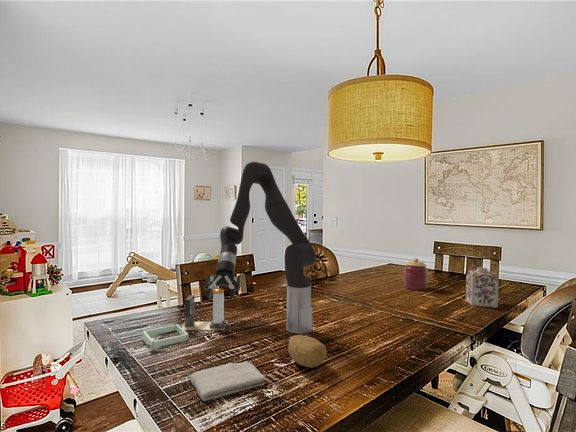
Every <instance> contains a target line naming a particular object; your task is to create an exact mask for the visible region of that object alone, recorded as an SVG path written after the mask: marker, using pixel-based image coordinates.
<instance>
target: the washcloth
mask: <svg viewBox="0 0 576 432" xmlns="http://www.w3.org/2000/svg"><path fill="white" fill-rule="evenodd" d="M265 378H266V375H264V374H262V373H261V372H260V371H259V370H258V369H257V367H256V366H255V365H254V364H253V363H252V362H249V361H243V362H236V363H233V362H228V363H227V364H222V365H219V366H214V367H210V368H206V369H203V370H198V371H195V372H193V373H191V374H190V375H189V377H188V379H189V381H190V383H191V385H192V386H193V387H194V388H195V389H196V390H195V391H196V392H197V395H198V396H199V398H200V399H201V401H202V402H207V401H209V400H210V399H211V400H213V399H218V398H221V397H226V396H229V395H233V394H235V393H238V392H241V391H246V390H249V389H254V388H257V386H258V387H261V385H262V386H264V384H265V385H266V382H265ZM253 387H254V388H253ZM245 389H246V390H245Z"/></svg>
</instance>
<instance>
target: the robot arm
mask: <svg viewBox="0 0 576 432" xmlns="http://www.w3.org/2000/svg"><path fill="white" fill-rule="evenodd" d="M253 184H256V185H259V186H260V187H261V189H262V190H263V192H264V195H265V199H264V201H265V202H264V209H265V210H264V211H265V212H266V214H267V216H268V218H269V220H270V222H271V224H272V225H273V226H274V227H275V228H276V229H277V230H278V231H280V232H281V233H282V234H283V235H284V236H286V238H287V239H288V240H289V241H290V243H291V244H289V245H287V247H286V248H285V251H284V276H285V279H286V331H287V332H289V333H291V334H297V335H305V334H307V333H310V332H312V331H313V306H312V304H311V303H312V301H311V299H312V279H311V277H310V276H307V275H305V273H304V268H307V267H310V266H312V265H314V264H315V262H316V260H317V255H316V250H315V248H314V246H313V245H312V242H311V241H310V240H309V239H308V238H307V236H306V234H305V233H304V231H303V230H302V229H301V227H300V225H299V222H297V219H296V218H295V216H294V215H293V213H292V210H291V208H290V207H289V205H288V203H287V201H286V199H285V198H284V196H283V193H282V192H281V190H280V189H279V186H278V184H277V182H276V180H275V176H274V175H273V172H272V170H271V168H270V167H269V165H268V164H266V163H263V162H258V161H253V160H252V161H248V162H247V163H246V164H245V165H244V168H243V170H242V174H241V178H240V184H239V188H238V193H237V198H236V201H235V204H234V208H233V209H232V212H231V216H230V218H229V222H230V224H232V225H234V226H235V227H237V228H235V227H231V226H229V225H228V226H227V225H225V226H223V227H222V228H221V230H220V232H219V236H220V237H219V238H220V239H219V240H220V245H221V246H220V252H219V257H218V260H217V265H216V269H215V274H214V275H210V274H207V275H206V279H205V282H204V285H203V287H204V290H205V291H207V294H206V297H207V299H208V300H211V299H212V296H213V289H218V287H219V288H222V287H223V288H224V287H225V288H227V287H228V288H229V289H230V294H229V300H230V301H233V299H235V293H236V292H240V291H241V282H242V281H241V279H242V278H241V275H239V274H238V275H237V276H235V270H236V265H237V263H236V262H237V254H238V245H241V243H242V242H243V239H244V233H245V231H244V230H245V225H246V222H247V219H248V217H249V215H250V211H251V201H250V192H251V190H252V189H251V188H252V186H253ZM234 281H235V282H236V285H234V284H233V282H234ZM211 282H212V283H211Z"/></svg>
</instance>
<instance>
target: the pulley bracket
mask: <svg viewBox="0 0 576 432" xmlns="http://www.w3.org/2000/svg"><path fill="white" fill-rule="evenodd" d="M195 303H196V302H195V295H188V297H186V298H185V300H184V322H183V324H181V326H180V327H181V328H182V329H183V330H184V331H224V330H225V329H226V326H227V324H228V321H227V319H224V324H213V319H212V320H211V321H195V317H196V315H195V314H196V310H195V308H196V306H195V305H196V304H195Z"/></svg>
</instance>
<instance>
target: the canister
mask: <svg viewBox="0 0 576 432" xmlns="http://www.w3.org/2000/svg"><path fill="white" fill-rule="evenodd" d="M426 266H427V264H426V263H425V262H424V261H419V258H417V257H414V258H413V260H409V261H407V262H406V263H405V266H404V272H403V276H404V277H403V278H404V279H403V280H404V281H403V287H404V288H405V289H408V290H411V291H425V290H427V289H428V272H427V271H428V267H426Z"/></svg>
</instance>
